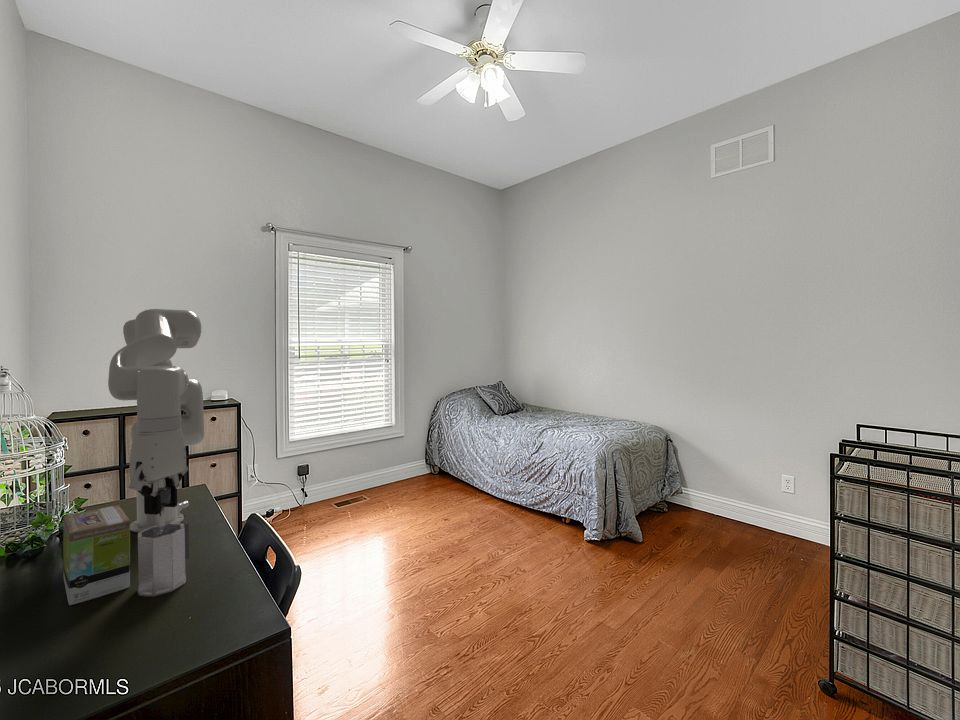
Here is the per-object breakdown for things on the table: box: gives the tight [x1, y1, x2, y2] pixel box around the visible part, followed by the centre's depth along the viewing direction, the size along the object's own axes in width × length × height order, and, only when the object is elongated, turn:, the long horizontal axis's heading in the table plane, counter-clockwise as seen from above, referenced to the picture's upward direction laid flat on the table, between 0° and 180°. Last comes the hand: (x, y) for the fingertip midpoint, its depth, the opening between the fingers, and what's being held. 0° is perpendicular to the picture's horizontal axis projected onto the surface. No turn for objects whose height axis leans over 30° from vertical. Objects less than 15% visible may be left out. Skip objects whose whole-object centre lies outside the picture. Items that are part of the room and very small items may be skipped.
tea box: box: [62, 504, 131, 606], centre depth 94 cm, size 15×10×15 cm, turn 47°
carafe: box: [137, 522, 190, 598], centre depth 95 cm, size 11×8×12 cm
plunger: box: [157, 487, 171, 536], centre depth 93 cm, size 5×5×13 cm
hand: (161, 509), depth 93 cm, fingers closed on plunger, 3 cm apart
